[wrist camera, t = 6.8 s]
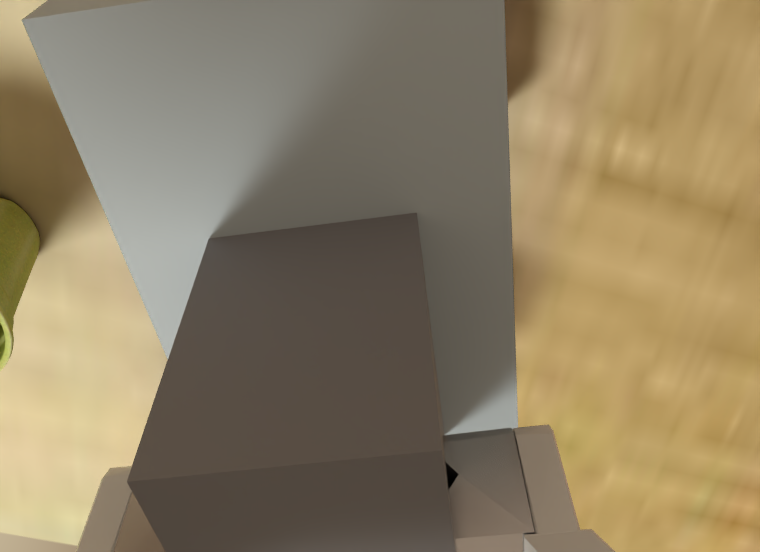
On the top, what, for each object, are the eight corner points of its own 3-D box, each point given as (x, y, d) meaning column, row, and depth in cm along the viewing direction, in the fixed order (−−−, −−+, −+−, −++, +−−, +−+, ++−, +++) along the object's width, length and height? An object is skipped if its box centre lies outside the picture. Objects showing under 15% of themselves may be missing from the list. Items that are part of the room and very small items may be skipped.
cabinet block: (449, -134, 15) (621, 88, 5) (479, 306, 22) (574, 773, 12) (168, -90, 15) (-222, 201, 5) (287, 328, 22) (219, 796, 12)
